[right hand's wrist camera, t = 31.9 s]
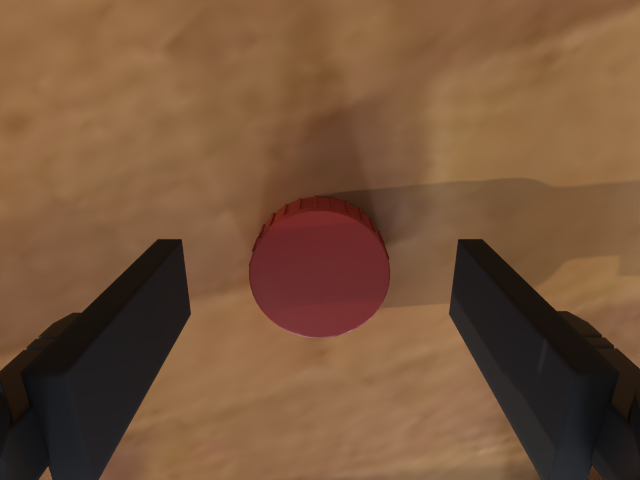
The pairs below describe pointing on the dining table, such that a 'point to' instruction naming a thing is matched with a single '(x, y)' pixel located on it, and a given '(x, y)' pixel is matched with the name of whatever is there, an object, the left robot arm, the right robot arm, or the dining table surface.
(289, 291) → the cap
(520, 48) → the dining table surface
